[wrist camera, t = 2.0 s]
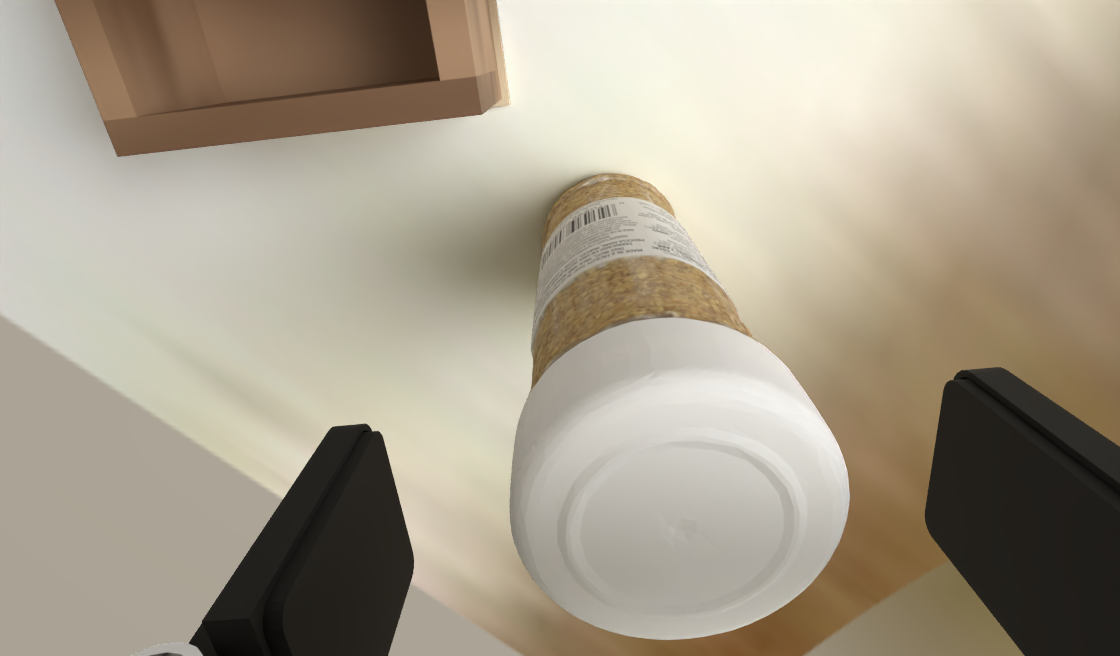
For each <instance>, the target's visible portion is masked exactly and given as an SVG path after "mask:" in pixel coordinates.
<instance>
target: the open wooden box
mask: <svg viewBox="0 0 1120 656" xmlns="http://www.w3.org/2000/svg"><path fill="white" fill-rule="evenodd" d="M55 3H56V5H57V8H58V10H59V13H60V15H61V17H62V20H63V22H64V25H65V27H66V30H67V32H68V35H69V37H70V40H71V42H72V45H73V47H74V50H75V52H76V55H77V57H78V60H79V62H80V65H81V67H82V70H83V72H84V75H85V77H86V80H87V82H88V85H89V87H90V89H91V92H92V94H93V97H94V99H95V102H96V104H97V107H98V109H99V112H100V114H101V117H102V119H103V122H104V124H105V127H106V129H107V132H108V134H109V137H110V139H111V142H112V144H113V147H114V149H115V152H116V154H117V157H120V156H129V155H137V154H146V153H155V152H163V151H172V150H181V149H189V148H198V147H206V146H215V145H224V144H232V143H241V142H250V141H258V140H267V139H275V138H284V137H293V136H301V135H310V134H319V133H327V132H336V131H344V130H353V129H362V128H370V127H379V126H388V125H396V124H405V123H413V122H422V121H431V120H439V119H448V118H456V117H465V116H474V115H482V114H483V113H485V112H486V111H487V110H488V109H490V108H491V107H498V106H507V105H510V98H509V91H508V84H507V76H506V69H505V61H504V54H503V47H502V39H501V32H500V25H499V17H498V10H497V2H496V0H55Z"/></svg>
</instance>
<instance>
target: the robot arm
mask: <svg viewBox="0 0 1120 656" xmlns="http://www.w3.org/2000/svg"><path fill="white" fill-rule="evenodd" d="M925 522H926V525H927V528H928V531H929V533H930V535H931V536H932V538H933V539H934V540H935V542H936V543H937V544H938V545H939V547H940V548H941V549H942V551H943V552H944V553H945V554H946V556H947V557H948V558H949V559H950V561H951V562H952V563H953V565H954V566H955V567H956V568H957V570H958V571H959V572H960V574H961V575H962V576H963V577H964V578H965V580H966V581H967V582H968V584H969V585H970V586H971V588H972V589H973V590H974V591H975V592H976V594H977V595H978V597H979V598H980V599H981V600H982V602H983V603H984V604H985V605H986V607H987V608H988V609H989V611H990V612H991V613H992V614H993V616H994V617H995V618H996V619H997V621H998V622H999V623H1000V625H1001V626H1002V627H1003V628H1004V630H1005V631H1006V632H1007V634H1008V635H1009V636H1010V637H1011V639H1012V640H1013V641H1014V643H1015V644H1016V645H1017V646H1018V648H1019V649H1020V650H1021V651H1022V653H1023V654H1024V655H1025V656H1120V447H1119V446H1118V445H1116V444H1115V443H1113V442H1112V441H1110V440H1109V439H1107V438H1106V437H1104V436H1103V435H1101V434H1100V433H1099V432H1097V431H1096V430H1094V429H1093V428H1091V427H1090V426H1088V425H1087V424H1085V423H1084V422H1082V421H1081V420H1079V419H1078V418H1076V417H1075V416H1074V415H1072V414H1071V413H1069V412H1068V411H1066V410H1065V409H1063V408H1062V407H1060V406H1059V405H1057V404H1056V403H1054V402H1053V401H1051V400H1050V399H1049V398H1047V397H1046V396H1044V395H1043V394H1041V393H1040V392H1038V391H1037V390H1035V389H1034V388H1032V387H1031V386H1029V385H1028V384H1026V383H1025V382H1024V381H1022V380H1021V379H1019V378H1018V377H1016V376H1015V375H1013V374H1012V373H1010V372H1009V371H1007V370H1006V369H1003V368H1001V367H995V368H984V369H972V370H961V371H960V372H958V373H957V374H956V376H955V377H954V380H950V381H948V382H947V383H946V385H945V387H944V390H943V397H942V403H941V410H940V416H939V423H938V430H937V436H936V443H935V449H934V456H933V462H932V469H931V475H930V482H929V489H928V495H927V502H926V508H925ZM413 569H414V556H413V551H412V547H411V543H410V539H409V535H408V531H407V528H406V524H405V520H404V516H403V512H402V508H401V505H400V501H399V497H398V493H397V489H396V485H395V482H394V478H393V474H392V470H391V466H390V463H389V459H388V455H387V451H386V447H385V443H384V440H383V437H382V435H381V433H380V432H379V431H374V432H372V430H371V428H370V427H369V425H367V424H357V425H346V426H335V427H332V428H331V429H330V430H329V431H328V433H327V434H326V436H325V437H324V439H323V440H322V442H321V443H320V445H319V446H318V448H317V449H316V451H315V452H314V454H313V455H312V457H311V458H310V460H309V461H308V463H307V464H306V466H305V467H304V469H303V470H302V472H301V473H300V475H299V476H298V478H297V479H296V481H295V482H294V484H293V485H292V487H291V488H290V490H289V491H288V493H287V494H286V496H285V497H284V499H283V500H282V502H281V503H280V505H279V506H278V508H277V509H276V511H275V512H274V514H273V515H272V517H271V518H270V520H269V521H268V523H267V524H266V526H265V527H264V529H263V530H262V532H261V533H260V535H259V536H258V538H257V539H256V541H255V542H254V544H253V545H252V547H251V548H250V550H249V551H248V553H247V554H246V556H245V557H244V559H243V560H242V562H241V563H240V565H239V566H238V568H237V569H236V571H235V572H234V574H233V575H232V577H231V578H230V580H229V581H228V583H227V584H226V586H225V587H224V589H223V590H222V592H221V593H220V595H219V596H218V598H217V599H216V601H215V602H214V604H213V605H212V607H211V608H210V610H209V611H208V613H207V614H206V616H205V617H204V619H203V620H202V624H201V626H200V627H199V628H198V630H197V632H196V633H195V635H194V636H193V637H192V639H191V641H190V642H189V643H186V642H167V643H163V644H159V645H155V646H151V647H148V648H146V649H143V650H141V651H139V652H137V653H134V654H132V655H130V656H388V653H389V650H390V647H391V643H392V640H393V637H394V634H395V631H396V627H397V624H398V621H399V618H400V614H401V611H402V608H403V605H404V602H405V598H406V595H407V592H408V589H409V585H410V582H411V579H412V575H413Z"/></svg>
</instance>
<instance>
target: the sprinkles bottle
mask: <svg viewBox="0 0 1120 656" xmlns="http://www.w3.org/2000/svg"><path fill="white" fill-rule="evenodd" d="M531 352H532V356H533V373H532V387H531V391H530V393H529V396H528V398H527V401H526V403H525V405H524V408H523V410H522V412H521V415H520V419H519V422H518V426H517V431H516V436H515V444H514V453H513V462H512V474H511V487H510V522H511V531H512V536H513V540H514V543H515V546H516V548H517V551H518V554H519V556H520V558H521V560H522V562H523V564H524V566H525V568H526V569H527V571H528V572H529V574H530V575H531V577H532V579H533V580H534V581H535V582H536V584H537V585H538V586H539V587H540V589H541V590H542V591H543V592H544V593H545V594H546V595H547V596H548V597H549V598H550V599H552V600H553V601H554V602H555V603H557V604H558V605H559V606H560V607H562V608H563V609H565V610H566V611H567V612H569V613H570V614H572V615H573V616H575V617H577V618H579V619H581V620H583V621H585V622H587V623H589V624H591V625H593V626H596V627H599V628H602V629H605V630H608V631H611V632H614V633H618V634H622V635H626V636H632V637H639V638H646V639H660V640H674V639H690V638H697V637H705V636H710V635H714V634H719V633H723V632H728V631H732V630H735V629H737V628H740V627H743V626H746V625H748V624H751V623H753V622H755V621H757V620H759V619H761V618H763V617H766V616H768V615H769V614H771V613H773V612H774V611H776V610H778V609H779V608H781V607H783V606H784V605H786V604H787V603H789V602H790V601H791V600H793V599H794V598H795V597H796V596H798V595H799V594H800V593H801V592H803V591H804V590H805V589H806V588H807V587H808V586H809V585H810V584H811V583H812V582H813V581H814V579H815V578H816V577H817V576H818V575H819V574H820V572H821V571H822V570H823V568H824V567H825V566H826V564H827V563H828V561H829V560H830V558H831V556H832V554H833V553H834V551H835V549H836V548H837V546H838V544H839V541H840V539H841V536H842V533H843V530H844V527H845V523H846V520H847V515H848V508H849V501H850V492H849V480H848V473H847V468H846V465H845V462H844V458H843V456H842V453H841V451H840V448H839V446H838V444H837V442H836V440H835V438H834V436H833V434H832V432H831V431H830V429H829V427H828V426H827V424H826V423H825V421H824V420H823V418H822V416H821V415H820V413H819V412H818V410H817V409H816V407H815V405H814V404H813V402H812V401H811V400H810V398H809V397H808V395H807V394H806V392H805V391H804V390H803V388H802V387H801V385H800V384H799V382H798V381H797V380H796V378H795V377H794V375H793V374H792V373H791V371H790V370H789V368H788V367H787V366H786V365H785V364H784V363H783V362H782V361H781V360H780V359H779V358H778V357H776V356H775V355H774V354H773V353H772V352H770V351H769V350H768V349H767V348H766V347H764V346H763V345H762V344H760V343H759V342H757V341H756V340H755V339H754V338H753V337H752V335H751V333H750V331H749V329H748V328H747V327H746V326H745V325H744V324H743V323H742V321H741V318H740V316H739V313H738V311H737V309H736V307H735V305H734V303H733V301H732V300H731V298H730V296H729V295H728V293H727V292H726V290H725V289H724V288H723V286H722V285H721V283H720V282H719V280H718V279H717V277H716V276H715V274H714V273H713V271H712V270H711V268H710V267H709V266H708V264H707V263H706V261H705V260H704V258H703V257H702V255H701V254H700V252H699V250H698V249H697V247H696V246H695V244H694V243H693V241H692V240H691V238H690V236H689V235H688V233H687V232H686V230H685V229H684V228H683V227H682V225H681V224H680V223H679V221H677V220H676V217H675V215H674V211H673V209H672V207H671V205H670V203H669V202H668V200H667V199H666V198H665V196H664V195H663V194H661V193H660V192H659V191H658V190H657V189H656V188H655V187H654V186H652V185H651V184H650V183H648V182H645V181H642V180H640V179H638V178H636V177H633V176H629V175H623V174H603V175H596V176H593V177H591V178H589V179H587V180H583V181H581V182H579V183H578V184H576V185H575V186H574V187H572V188H570V189H568V190H567V191H566V192H564V193H563V194H562V195H561V196H560V198H559V199H558V201H557V202H556V203H555V204H554V206H553V207H552V209H551V210H550V212H549V214H548V217H547V220H546V224H545V227H544V229H543V232H542V258H541V262H540V270H539V278H538V286H537V294H536V303H535V312H534V321H533V330H532V342H531Z"/></svg>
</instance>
